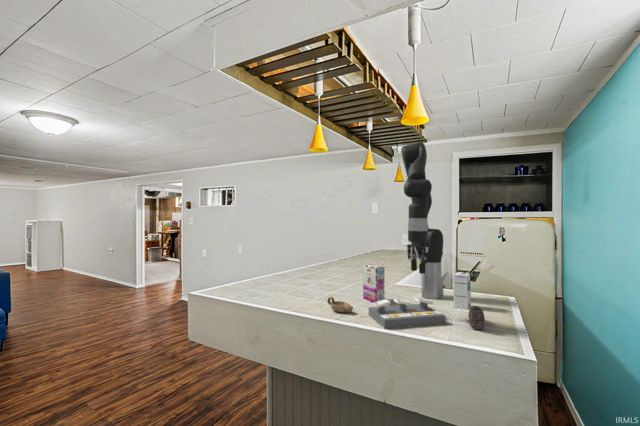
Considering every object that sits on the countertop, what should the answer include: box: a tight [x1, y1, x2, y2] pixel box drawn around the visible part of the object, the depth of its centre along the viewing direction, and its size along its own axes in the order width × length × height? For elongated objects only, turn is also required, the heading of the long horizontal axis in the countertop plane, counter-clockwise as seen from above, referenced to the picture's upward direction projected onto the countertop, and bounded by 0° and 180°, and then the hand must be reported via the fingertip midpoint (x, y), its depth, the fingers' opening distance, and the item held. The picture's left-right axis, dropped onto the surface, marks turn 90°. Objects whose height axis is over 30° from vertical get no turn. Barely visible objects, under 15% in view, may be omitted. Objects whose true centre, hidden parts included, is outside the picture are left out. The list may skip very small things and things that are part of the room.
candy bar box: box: [362, 263, 385, 303], centre depth 151 cm, size 11×5×16 cm, turn 25°
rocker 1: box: [372, 298, 391, 308], centre depth 124 cm, size 6×4×1 cm, turn 102°
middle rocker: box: [393, 298, 413, 306], centre depth 126 cm, size 6×4×1 cm, turn 102°
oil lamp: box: [327, 296, 354, 313], centre depth 135 cm, size 13×8×5 cm, turn 43°
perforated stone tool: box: [467, 305, 486, 331], centre depth 117 cm, size 15×5×7 cm, turn 153°
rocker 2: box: [414, 296, 434, 305], centre depth 128 cm, size 6×4×1 cm, turn 102°
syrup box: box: [452, 271, 472, 310], centre depth 140 cm, size 6×6×14 cm
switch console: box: [368, 302, 446, 329], centre depth 124 cm, size 24×16×5 cm, turn 102°
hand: (418, 271), depth 127 cm, fingers open, 6 cm apart
